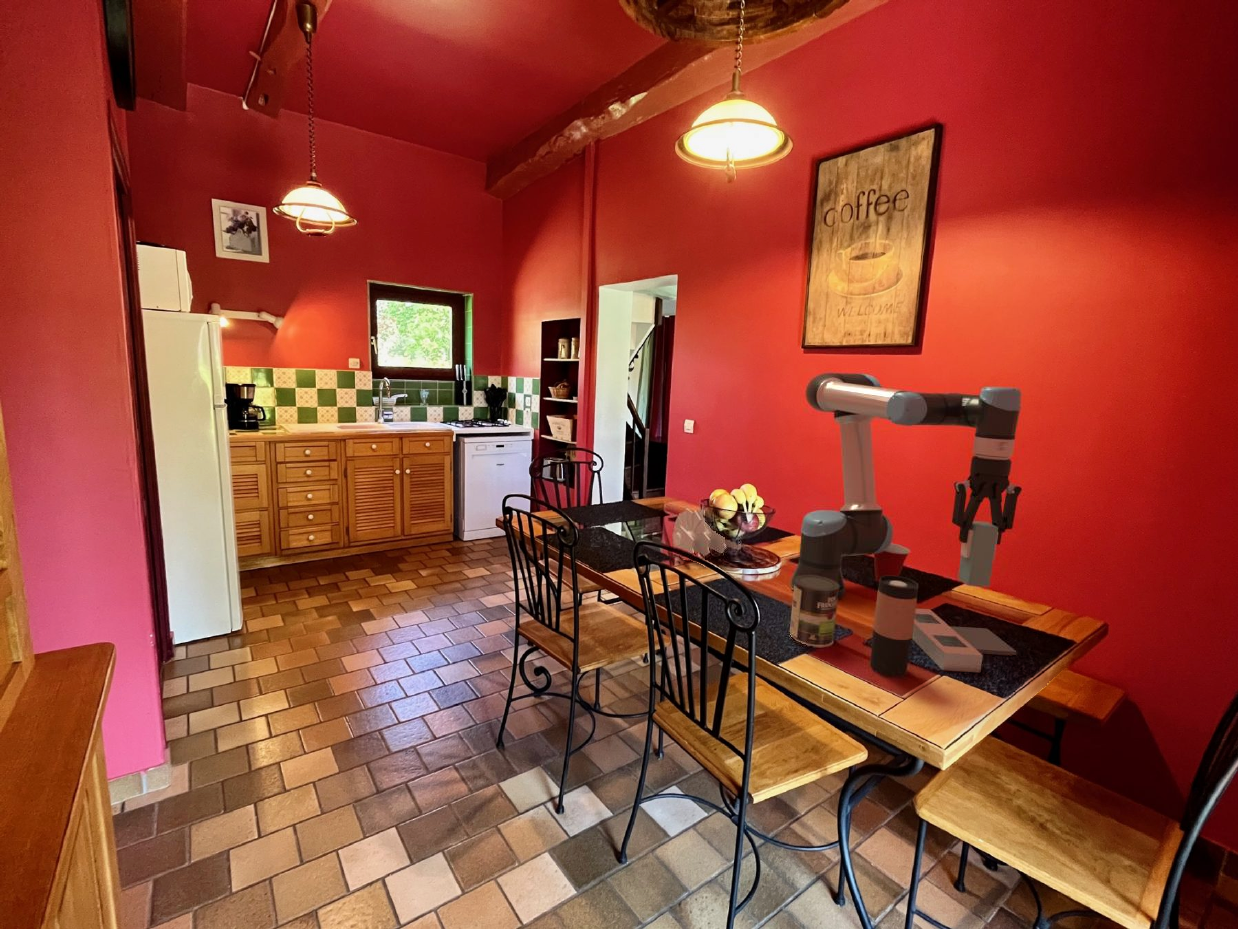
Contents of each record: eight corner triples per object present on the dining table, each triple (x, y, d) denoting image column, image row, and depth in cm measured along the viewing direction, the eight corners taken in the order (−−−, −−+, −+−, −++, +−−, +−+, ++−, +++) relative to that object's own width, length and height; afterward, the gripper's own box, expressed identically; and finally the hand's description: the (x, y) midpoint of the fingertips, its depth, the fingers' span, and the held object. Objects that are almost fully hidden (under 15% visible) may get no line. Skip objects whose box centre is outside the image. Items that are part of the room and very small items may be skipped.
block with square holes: (942, 670, 124) (944, 653, 123) (896, 622, 148) (898, 607, 147) (980, 672, 124) (982, 655, 123) (927, 624, 147) (929, 609, 147)
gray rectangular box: (967, 585, 130) (976, 526, 127) (958, 578, 134) (966, 520, 132) (989, 587, 129) (998, 527, 127) (978, 579, 134) (987, 522, 131)
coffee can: (843, 643, 135) (849, 586, 133) (811, 651, 130) (817, 593, 128) (810, 625, 144) (815, 572, 142) (779, 632, 139) (784, 577, 137)
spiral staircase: (669, 569, 193) (730, 557, 203) (695, 562, 177) (759, 550, 188) (658, 516, 197) (718, 507, 207) (683, 505, 181) (746, 496, 192)
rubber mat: (962, 652, 132) (963, 648, 132) (937, 629, 144) (938, 625, 144) (1016, 655, 132) (1016, 651, 132) (986, 632, 144) (986, 628, 143)
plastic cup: (912, 590, 170) (917, 552, 168) (876, 588, 170) (881, 550, 168) (896, 577, 181) (900, 541, 179) (862, 575, 181) (866, 539, 179)
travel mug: (862, 660, 127) (872, 575, 124) (894, 660, 128) (905, 575, 124) (880, 678, 120) (891, 588, 116) (915, 678, 120) (926, 588, 117)
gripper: (958, 457, 124) (944, 559, 128) (1044, 461, 122) (1027, 565, 126) (942, 452, 131) (929, 549, 135) (1023, 456, 130) (1008, 554, 134)
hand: (977, 556), depth 131 cm, fingers closed on gray rectangular box, 5 cm apart
